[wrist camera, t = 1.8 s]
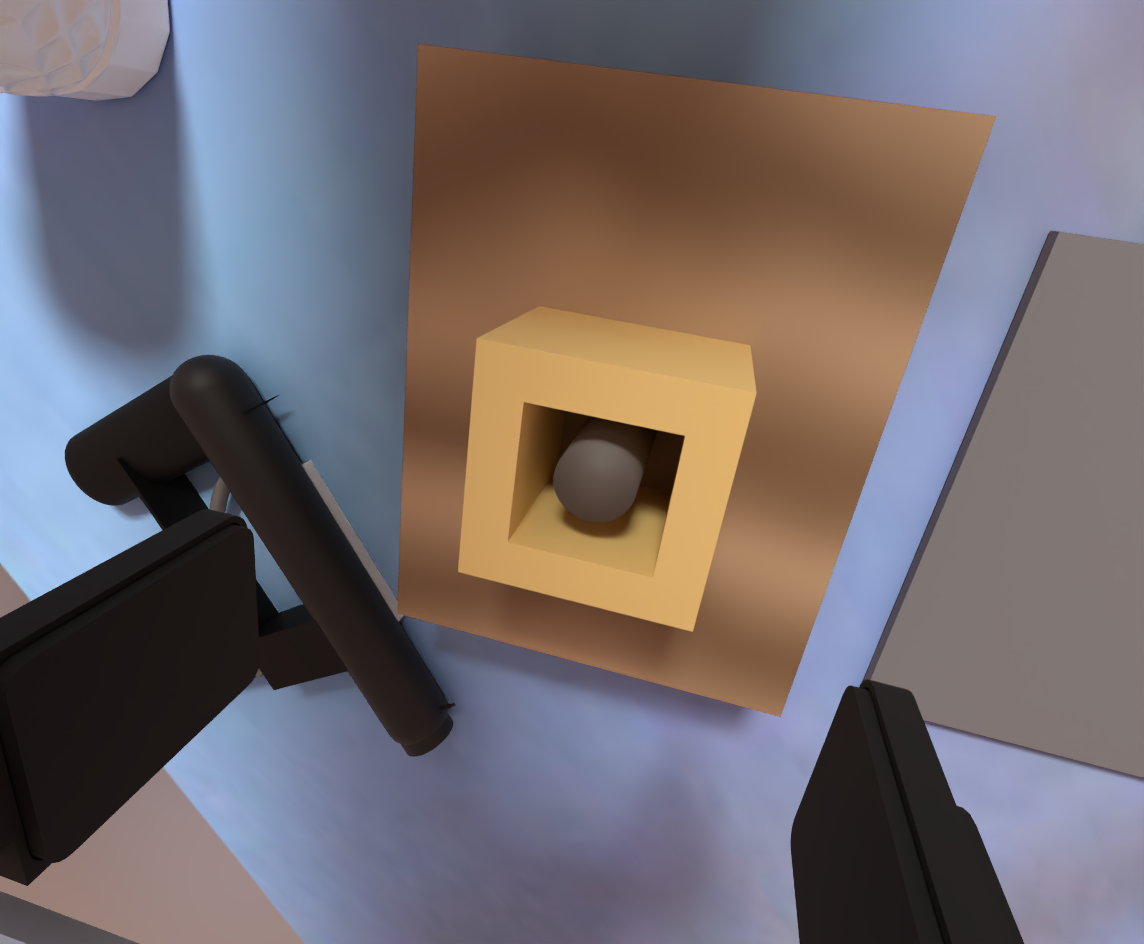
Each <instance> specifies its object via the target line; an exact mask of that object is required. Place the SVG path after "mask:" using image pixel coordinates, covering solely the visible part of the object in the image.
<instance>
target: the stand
mask: <svg viewBox="0 0 1144 944" xmlns="http://www.w3.org/2000/svg"><path fill="white" fill-rule="evenodd" d="M995 119H996V116H989V115H981V114H974V113H966V112H958V111H950V110H942V109H934V108H926V107H918V106H910V105H902V104H894V103H886V102H878V101H870V100H862V99H854V98H846V97H838V96H830V95H822V94H814V93H806V92H798V91H790V90H782V89H774V88H766V87H758V86H750V85H742V84H734V83H726V82H718V81H710V80H702V79H694V78H687V77H679V76H671V75H663V74H655V73H647V72H639V71H631V70H623V69H615V68H607V67H599V66H591V65H583V64H575V63H567V62H559V61H551V60H543V59H535V58H527V57H519V56H511V55H503V54H495V53H487V52H479V51H471V50H463V49H455V48H447V47H439V46H431V45H423V44H418V60H417V88H416V115H415V142H414V169H413V197H412V224H411V251H410V279H409V306H408V333H407V361H406V388H405V415H404V443H403V470H402V497H401V525H400V552H399V579H398V607H397V614H401V615H404V616H408V617H412V618H416V619H419V620H423V621H427V622H430V623H434V624H438V625H442V626H445V627H449V628H453V629H456V630H460V631H464V632H467V633H471V634H475V635H479V636H482V637H486V638H490V639H493V640H497V641H501V642H505V643H508V644H512V645H516V646H519V647H523V648H527V649H531V650H534V651H538V652H542V653H545V654H549V655H553V656H557V657H560V658H564V659H568V660H571V661H575V662H579V663H582V664H586V665H590V666H594V667H597V668H601V669H605V670H608V671H612V672H616V673H620V674H623V675H627V676H631V677H634V678H638V679H642V680H646V681H649V682H653V683H657V684H660V685H664V686H668V687H672V688H675V689H679V690H683V691H686V692H690V693H694V694H697V695H701V696H705V697H709V698H712V699H716V700H720V701H723V702H727V703H731V704H735V705H738V706H742V707H746V708H749V709H753V710H757V711H761V712H764V713H768V714H772V715H775V716H779V717H781V714H782V711H783V708H784V706H785V703H786V700H787V697H788V694H789V692H790V689H791V686H792V683H793V680H794V678H795V675H796V672H797V669H798V667H799V664H800V661H801V658H802V655H803V653H804V650H805V647H806V644H807V642H808V639H809V636H810V633H811V630H812V628H813V625H814V622H815V619H816V617H817V614H818V611H819V608H820V605H821V603H822V600H823V597H824V594H825V591H826V589H827V586H828V583H829V580H830V578H831V575H832V572H833V569H834V566H835V564H836V561H837V558H838V555H839V553H840V550H841V547H842V544H843V541H844V539H845V536H846V533H847V530H848V527H849V525H850V522H851V519H852V516H853V514H854V511H855V508H856V505H857V502H858V500H859V497H860V494H861V491H862V489H863V486H864V483H865V480H866V477H867V475H868V472H869V469H870V466H871V464H872V461H873V458H874V455H875V452H876V450H877V447H878V444H879V441H880V438H881V436H882V433H883V430H884V427H885V425H886V422H887V419H888V416H889V413H890V411H891V408H892V405H893V402H894V400H895V397H896V394H897V391H898V388H899V386H900V383H901V380H902V377H903V375H904V372H905V369H906V366H907V363H908V361H909V358H910V355H911V352H912V349H913V347H914V344H915V341H916V338H917V336H918V333H919V330H920V327H921V324H922V322H923V319H924V316H925V313H926V311H927V308H928V305H929V302H930V299H931V297H932V294H933V291H934V288H935V286H936V283H937V280H938V277H939V274H940V272H941V269H942V266H943V263H944V260H945V258H946V255H947V252H948V249H949V247H950V244H951V241H952V238H953V235H954V233H955V230H956V227H957V224H958V222H959V219H960V216H961V213H962V210H963V208H964V205H965V202H966V199H967V196H968V194H969V191H970V188H971V185H972V183H973V180H974V177H975V174H976V171H977V169H978V166H979V163H980V160H981V158H982V155H983V152H984V149H985V146H986V144H987V141H988V138H989V135H990V133H991V130H992V127H993V124H994V121H995ZM538 306H541V307H546V308H552V309H557V310H562V311H568V312H573V313H579V314H584V315H589V316H595V317H600V318H606V319H611V320H616V321H622V322H627V323H632V324H638V325H643V326H649V327H654V328H659V329H665V330H670V331H676V332H681V333H686V334H692V335H697V336H703V337H708V338H713V339H719V340H724V341H730V342H735V343H740V344H746V345H750V346H751V354H752V362H753V369H754V377H755V385H756V392H757V394H756V397H755V401H754V405H753V409H752V412H751V416H750V420H749V423H748V427H747V431H746V435H745V438H744V442H743V446H742V450H741V453H740V457H739V461H738V465H737V468H736V472H735V476H734V480H733V483H732V487H731V491H730V495H729V498H728V502H727V506H726V509H725V513H724V517H723V521H722V524H721V528H720V532H719V536H718V539H717V543H716V547H715V551H714V554H713V558H712V562H711V566H710V569H709V573H708V577H707V581H706V584H705V588H704V592H703V595H702V599H701V603H700V607H699V610H698V614H697V618H696V622H695V625H694V629H693V632H692V631H688V630H684V629H680V628H676V627H672V626H668V625H664V624H660V623H656V622H652V621H649V620H645V619H641V618H637V617H633V616H629V615H625V614H621V613H617V612H613V611H609V610H605V609H602V608H598V607H594V606H590V605H586V604H582V603H578V602H574V601H570V600H566V599H562V598H558V597H555V596H551V595H547V594H543V593H539V592H535V591H531V590H527V589H523V588H519V587H515V586H511V585H507V584H504V583H500V582H496V581H492V580H488V579H484V578H480V577H476V576H472V575H468V574H464V573H460V572H458V565H459V552H460V540H461V528H462V515H463V503H464V490H465V478H466V466H467V453H468V441H469V428H470V416H471V404H472V391H473V379H474V366H475V354H476V342H477V338H478V337H480V336H482V335H484V334H486V333H488V332H490V331H492V330H494V329H496V328H498V327H500V326H502V325H504V324H505V323H507V322H509V321H511V320H513V319H515V318H517V317H519V316H521V315H523V314H525V313H527V312H529V311H531V310H533V309H535V308H537V307H538ZM683 439H684V435H679V434H674V433H669V432H664V431H660V430H655V429H650V428H645V427H641V426H636V425H631V424H626V423H621V422H617V421H612V420H607V419H602V418H598V417H593V416H588V415H583V414H579V413H574V412H569V411H566V413H565V420H564V427H563V433H562V440H561V447H560V454H559V461H558V463H557V465H556V468H555V471H554V478H553V482H554V489H555V492H556V495H557V497H558V499H559V501H560V502H561V504H562V505H563V506H564V507H565V508H566V509H567V510H568V511H569V512H570V513H571V514H573V515H574V516H576V517H578V518H580V519H582V520H586V521H589V522H598V523H599V522H608V521H611V520H614V519H616V518H619V517H620V516H622V515H623V514H624V513H625V512H627V511H628V509H629V508H630V507H631V505H632V504H633V502H634V499H635V497H636V494H637V491H638V488H639V486H643V487H647V488H652V489H656V490H661V491H665V492H669V493H671V492H672V487H673V483H674V478H675V474H676V470H677V465H678V461H679V456H680V452H681V447H682V443H683Z"/></svg>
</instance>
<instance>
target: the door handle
mask: <svg viewBox="0 0 1144 944" xmlns="http://www.w3.org/2000/svg"><path fill="white" fill-rule="evenodd" d="M278 396H279V395H278ZM276 397H277V396H276ZM274 398H275V397H274ZM274 398H272V399H274ZM272 399H269V400H267V401H265V402H263V401H262V399H261V397H260V396H259V394H258V393H257V391H256V389H255V388H254V386H253V384H252V383H251V381H250V380H249V378H248V376H247V375H246V373H245V372H244V371H243V370H242V369H241V368H240V367H239V366H238V365H237V364H236V363H234V362H232V361H231V360H229V359H226V358H224V357H220V356H215V355H202V356H197V357H194V358H191V359H189V360H187V361H185V362H184V363H182V364H181V365H180V366H179V367H178V368H177V369H176V371H175V372H174V374H173V375H172V376H171V377H169V378H168V379H166V380H164V381H163V382H161V383H159V384H158V385H156V386H155V387H153V388H151V389H150V390H148V391H146V392H145V393H143V394H142V395H140V396H138V397H137V398H135V399H133V400H132V401H130V402H129V403H127V404H125V405H124V406H122V407H120V408H119V409H117V410H116V411H114V412H112V413H111V414H109V415H107V416H106V417H104V418H103V419H101V420H99V421H98V422H96V423H94V424H93V425H91V426H90V427H88V428H86V429H85V430H83V431H82V432H80V433H78V434H77V435H75V436H74V437H72V438H71V439H70V440H69V442H68V444H67V446H66V449H65V462H66V466H67V469H68V472H69V474H70V476H71V477H72V479H73V481H74V482H75V483H76V485H77V486H78V487H79V488H80V489H81V490H82V491H83V492H84V493H85V494H87V495H88V496H89V497H91V498H92V499H94V500H96V501H98V502H100V503H103V504H107V505H122V504H125V503H127V502H129V501H131V500H133V499H135V498H137V497H140V498H141V500H142V501H143V503H144V504H145V505H146V507H147V508H148V510H149V511H150V513H151V514H152V515H153V517H154V518H155V520H156V521H157V523H158V524H159V526H160V527H161V528H162V530H164V529H166V528H168V527H170V526H172V525H174V524H176V523H177V522H179V521H181V520H183V519H185V518H187V517H189V516H190V515H192V514H194V513H196V512H198V511H200V510H203V509H208V507H207V506H206V504H205V503H204V501H203V500H202V498H201V497H200V495H199V494H198V492H197V491H196V489H195V488H194V486H193V485H192V483H191V482H190V480H189V479H188V478H187V476H186V475H185V473H186V472H188V471H190V470H192V469H194V468H196V467H198V466H200V465H202V464H204V463H206V462H208V461H210V462H211V463H212V465H213V466H214V468H215V469H216V471H217V473H218V474H219V476H220V477H219V479H218V481H217V483H216V485H215V488H214V491H213V494H212V498H211V503H210V509H211V510H215V511H219V512H223V513H224V512H225V511H226V506H227V501H228V497H229V493H230V492H231V494H232V495H233V497H234V498H235V500H236V502H237V503H238V505H239V506H240V508H241V509H242V511H243V512H244V514H245V515H246V517H247V518H248V520H249V521H250V523H251V524H252V526H253V527H254V529H255V531H256V532H257V534H258V535H259V537H260V538H261V540H262V541H263V543H264V544H265V546H266V547H267V549H268V550H269V552H270V553H271V555H272V557H273V558H274V560H275V561H276V563H277V564H278V566H279V567H280V569H281V570H282V572H283V573H284V575H285V576H286V578H287V579H288V581H289V582H290V584H291V586H292V587H293V589H294V590H295V592H296V593H297V595H298V596H299V598H300V599H301V601H302V602H303V604H302V605H300V606H297V607H294V608H291V609H289V610H286V611H283V612H280V613H278V612H277V610H276V609H275V607H274V606H273V604H272V603H271V601H270V600H269V598H268V597H267V595H266V594H265V592H264V591H263V589H262V588H261V586H260V585H259V583H258V582H257V580H256V593H257V612H258V632H259V651H260V665H259V669H258V672H257V674H256V676H255V677H258V676H261V675H264V677H265V678H266V679H267V681H268V682H269V684H270V685H271V687H272V688H273V690H276V689H280V688H284V687H288V686H292V685H295V684H299V683H303V682H307V681H311V680H315V679H319V678H323V677H326V676H330V675H334V674H338V673H342V672H346V671H348V673H349V674H350V676H351V677H352V679H353V680H354V682H355V683H356V685H357V686H358V688H359V689H360V691H361V692H362V694H363V695H364V697H365V699H366V700H367V702H368V703H369V705H370V706H371V708H372V709H373V711H374V712H375V714H376V715H377V717H378V718H379V720H380V721H381V723H382V724H383V726H384V728H385V729H386V731H387V732H388V734H389V735H390V736H391V737H392V738H393V739H394V740H395V741H396V742H398V743H400V744H401V745H402V747H403V748H404V750H405V751H406V753H407V754H408V755H409V756H413V757H414V756H420V755H423V754H425V753H427V752H429V751H431V750H433V749H434V748H435V747H437V746H438V745H439V744H440V743H441V742H442V741H443V740H444V739H445V738H446V737H447V736H448V734H449V733H450V731H451V729H452V727H453V721H452V719H451V717H450V716H449V714H448V709H447V708H450V707H451V706H455V703H452V704H448V705H447V702H446V699H445V697H444V695H443V693H442V691H441V690H440V688H439V687H438V685H437V683H436V682H435V680H434V678H433V677H432V675H431V674H430V672H429V670H428V669H427V667H426V665H425V664H424V662H423V661H422V659H421V657H420V656H419V654H418V652H417V651H416V649H415V648H414V646H413V644H412V643H411V641H410V639H409V638H408V636H407V635H406V633H405V631H404V630H403V628H402V626H401V625H400V623H399V622H398V621H400V620H401V618H402V617H403V616H404V615H401V614H397V607H398V601H397V600H396V598H395V596H394V595H393V593H392V592H391V590H390V588H389V587H388V585H387V583H386V582H385V580H384V579H383V577H382V575H381V574H380V572H379V570H378V569H377V567H376V565H375V564H374V562H373V561H372V559H371V557H370V556H369V554H368V552H367V551H366V549H365V547H364V546H363V544H362V543H361V541H360V539H359V538H358V536H357V534H356V533H355V531H354V529H353V528H352V526H351V525H350V523H349V521H348V520H347V518H346V516H345V515H344V513H343V512H342V510H341V508H340V507H339V505H338V503H337V502H336V500H335V498H334V497H333V495H332V494H331V492H330V490H329V489H328V487H327V485H326V484H325V482H324V480H323V479H322V477H321V476H320V474H319V472H318V471H317V469H316V467H315V466H314V464H313V462H312V461H311V460H309V461H307V462H304V463H302V464H301V462H300V461H299V459H298V457H297V456H296V454H295V453H294V451H293V449H292V448H291V446H290V444H289V443H288V441H287V440H286V438H285V436H284V435H283V433H282V432H281V430H280V428H279V427H278V425H277V423H276V422H275V420H274V419H273V417H272V415H271V414H270V412H269V410H268V409H267V407H266V406H265V404H266V403H267V402H269V401H271V400H272Z"/></svg>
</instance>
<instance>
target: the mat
mask: <svg viewBox="0 0 1144 944" xmlns="http://www.w3.org/2000/svg"><path fill="white" fill-rule="evenodd" d="M867 679H869V680H873V681H877V682H881V683H884V684H888V685H892V686H896V687H900V688H904V689H908V690H909V691H911V692H912V694H913V695H914V697H915V700H916V702H917V705H918V708H919V710H920V713H921V715H922V718H923V720H925V721H929V722H933V723H937V724H941V725H944V726H948V727H952V728H956V729H960V730H963V731H967V732H971V733H975V734H979V735H983V736H986V737H990V738H994V739H998V740H1002V741H1005V742H1009V743H1013V744H1017V745H1021V746H1025V747H1028V748H1032V749H1036V750H1040V751H1044V752H1048V753H1051V754H1055V755H1059V756H1063V757H1067V758H1070V759H1074V760H1078V761H1082V762H1086V763H1090V764H1093V765H1097V766H1101V767H1105V768H1109V769H1112V770H1116V771H1120V772H1124V773H1128V774H1132V775H1135V776H1139V777H1143V778H1144V244H1138V243H1132V242H1125V241H1118V240H1111V239H1105V238H1098V237H1091V236H1085V235H1078V234H1071V233H1064V232H1056V231H1050V233H1049V235H1048V238H1047V240H1046V242H1045V245H1044V247H1043V250H1042V252H1041V254H1040V257H1039V259H1038V262H1037V264H1036V266H1035V269H1034V271H1033V274H1032V276H1031V278H1030V281H1029V283H1028V286H1027V288H1026V290H1025V293H1024V295H1023V298H1022V300H1021V302H1020V305H1019V307H1018V310H1017V312H1016V314H1015V317H1014V319H1013V322H1012V324H1011V326H1010V329H1009V331H1008V334H1007V336H1006V339H1005V341H1004V343H1003V346H1002V348H1001V351H1000V353H999V355H998V358H997V360H996V363H995V365H994V367H993V370H992V372H991V375H990V377H989V379H988V382H987V384H986V387H985V389H984V391H983V394H982V396H981V399H980V401H979V403H978V406H977V408H976V411H975V413H974V415H973V418H972V420H971V423H970V425H969V427H968V430H967V432H966V435H965V437H964V439H963V442H962V444H961V447H960V449H959V451H958V454H957V456H956V459H955V461H954V464H953V466H952V468H951V471H950V473H949V476H948V478H947V480H946V483H945V485H944V488H943V490H942V492H941V495H940V497H939V500H938V502H937V504H936V507H935V509H934V512H933V514H932V516H931V519H930V521H929V524H928V526H927V528H926V531H925V533H924V536H923V538H922V540H921V543H920V545H919V548H918V550H917V552H916V555H915V557H914V560H913V562H912V564H911V567H910V569H909V572H908V574H907V576H906V579H905V581H904V584H903V586H902V589H901V591H900V593H899V596H898V598H897V601H896V603H895V605H894V608H893V610H892V613H891V615H890V617H889V620H888V622H887V625H886V627H885V629H884V632H883V634H882V637H881V639H880V641H879V644H878V646H877V649H876V651H875V653H874V656H873V658H872V661H871V663H870V665H869V668H868V670H867V673H866V675H865V677H864V680H867ZM864 680H863V681H864Z"/></svg>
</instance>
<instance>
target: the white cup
mask: <svg viewBox="0 0 1144 944" xmlns="http://www.w3.org/2000/svg"><path fill="white" fill-rule="evenodd" d="M169 33H170V25H169V11H168V0H0V93H5V94H13V95H24V96H52V95H53V96H61V97H69V98H78V99H86V100H95V101H100V100H109V99H117V98H126V97H132V96H133V95H134V94H135V93H136V92H137V91H139V90H140V89H141V88H142V87H143V86H144V85H145V84H146V83H147V82H148V81H149V80H150V79H151V78H152V77H153V76H154V75H155V74H156V73H157V72H158V69H159V66H160V63H161V59H162V56H163V53H164V50H165V46H166V43H167V40H168V36H169Z"/></svg>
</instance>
